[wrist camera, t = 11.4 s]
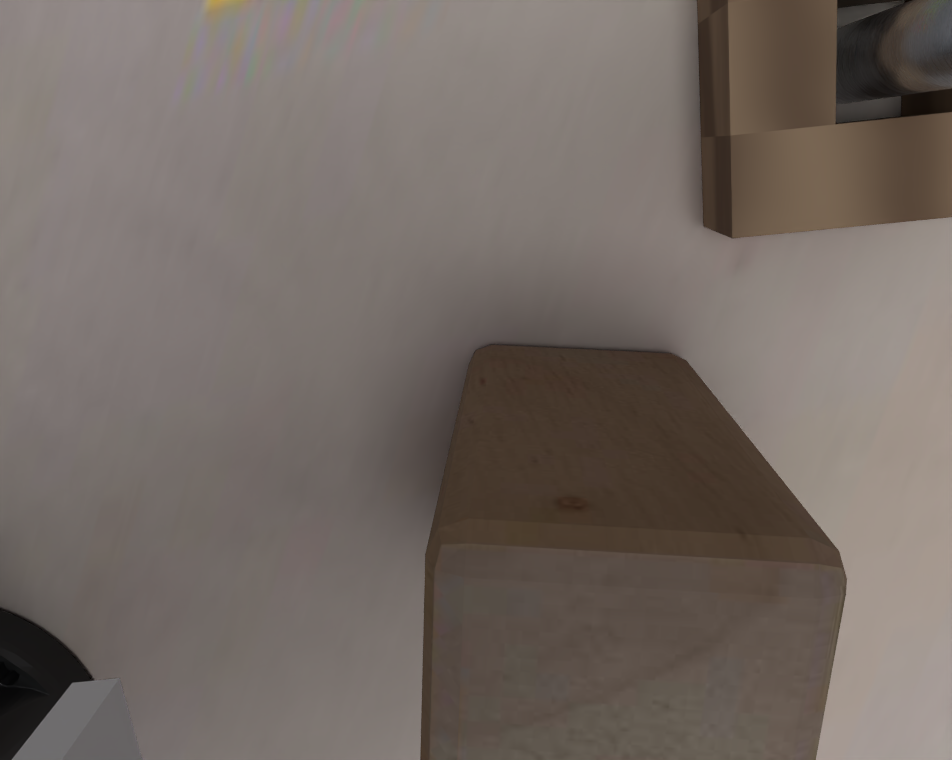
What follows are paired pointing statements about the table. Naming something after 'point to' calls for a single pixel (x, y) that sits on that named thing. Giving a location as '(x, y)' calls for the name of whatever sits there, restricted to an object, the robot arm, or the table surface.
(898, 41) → the peg
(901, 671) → the table surface
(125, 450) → the table surface
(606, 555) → the wooden block
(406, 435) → the table surface
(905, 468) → the table surface
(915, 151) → the socket block
